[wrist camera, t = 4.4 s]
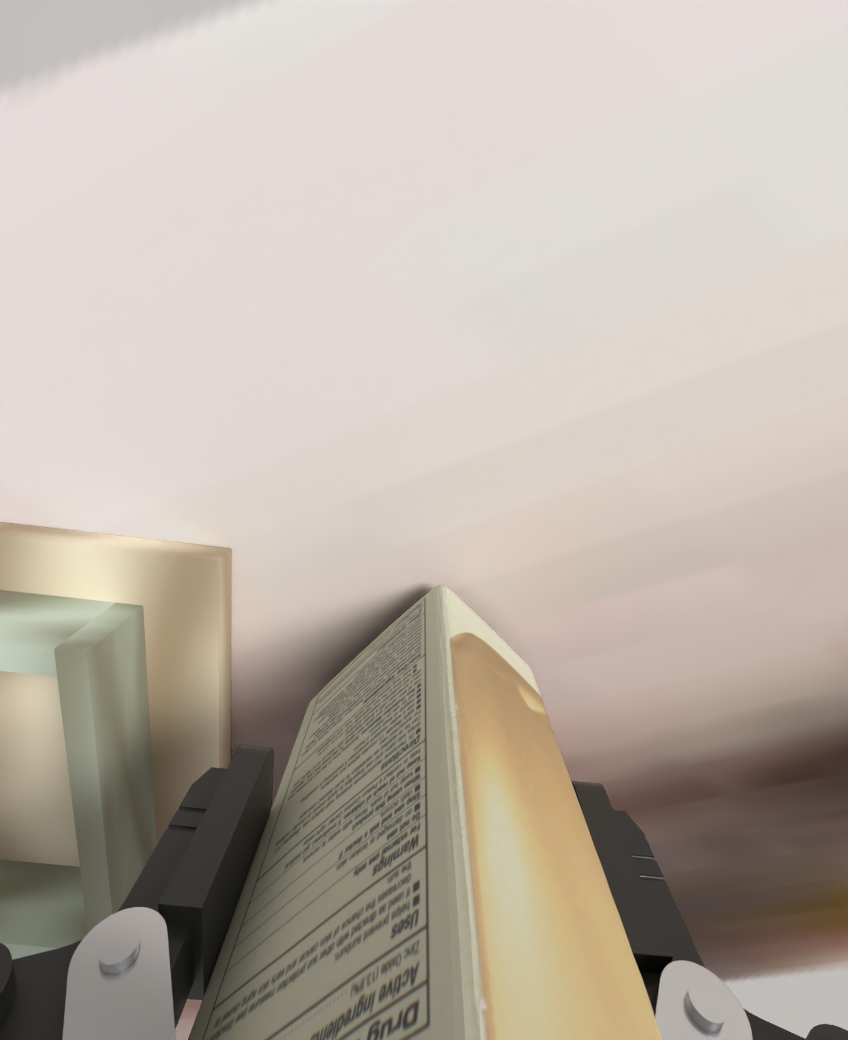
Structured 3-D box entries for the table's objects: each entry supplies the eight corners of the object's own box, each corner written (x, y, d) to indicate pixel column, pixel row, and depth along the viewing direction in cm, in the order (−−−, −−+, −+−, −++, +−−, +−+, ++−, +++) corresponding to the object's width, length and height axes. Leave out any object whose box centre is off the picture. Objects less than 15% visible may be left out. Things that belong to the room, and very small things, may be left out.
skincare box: (400, 775, 17) (325, 1690, 5) (305, 698, 16) (-40, 1587, 4) (543, 662, 15) (881, 1572, 4) (447, 571, 15) (504, 1386, 3)
